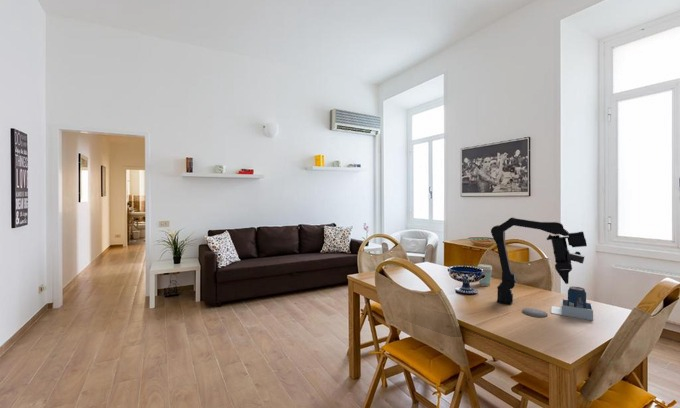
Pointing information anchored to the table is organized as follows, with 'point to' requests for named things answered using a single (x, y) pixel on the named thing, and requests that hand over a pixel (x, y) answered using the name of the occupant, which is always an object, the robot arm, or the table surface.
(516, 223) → the robot arm
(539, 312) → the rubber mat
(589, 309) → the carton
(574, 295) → the soda can
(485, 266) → the coffee cup
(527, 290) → the table surface
